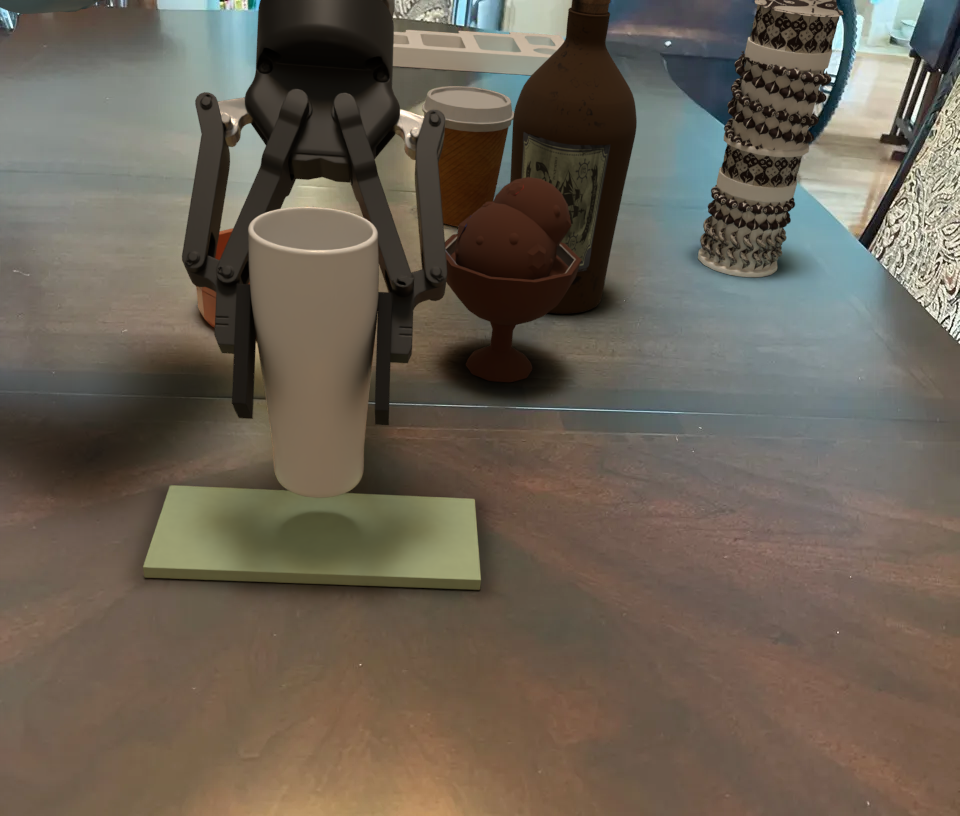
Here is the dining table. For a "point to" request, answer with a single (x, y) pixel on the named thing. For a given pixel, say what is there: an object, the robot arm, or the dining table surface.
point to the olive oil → (579, 142)
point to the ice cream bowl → (511, 269)
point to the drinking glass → (315, 341)
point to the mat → (315, 538)
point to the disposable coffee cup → (469, 146)
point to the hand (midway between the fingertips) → (312, 414)
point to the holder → (474, 51)
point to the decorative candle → (768, 134)
